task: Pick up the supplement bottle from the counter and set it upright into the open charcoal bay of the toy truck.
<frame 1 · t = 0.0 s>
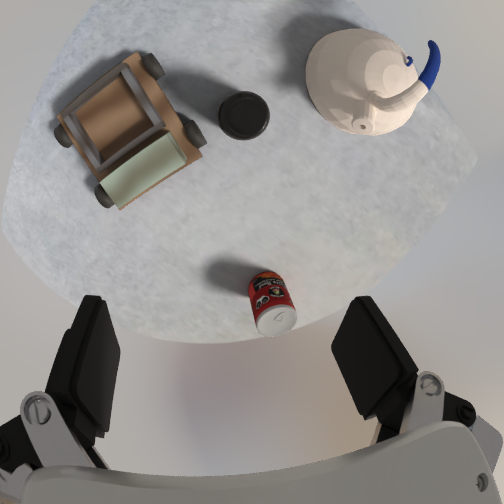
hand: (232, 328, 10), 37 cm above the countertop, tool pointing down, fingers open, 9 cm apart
supplement bottle: (237, 113, 39), on the countertop
kettle: (357, 81, 38), on the countertop
toy truck: (129, 130, 37), on the countertop
canned food: (265, 285, 58), on the countertop
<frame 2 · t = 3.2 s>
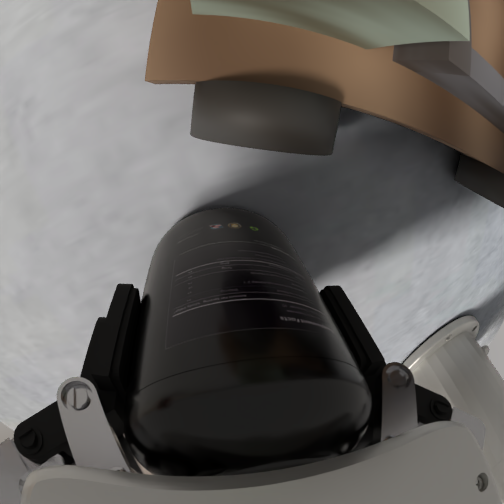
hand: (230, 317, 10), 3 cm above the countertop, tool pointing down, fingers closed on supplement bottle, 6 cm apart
supplement bottle: (223, 266, 13), on the countertop, touching gripper
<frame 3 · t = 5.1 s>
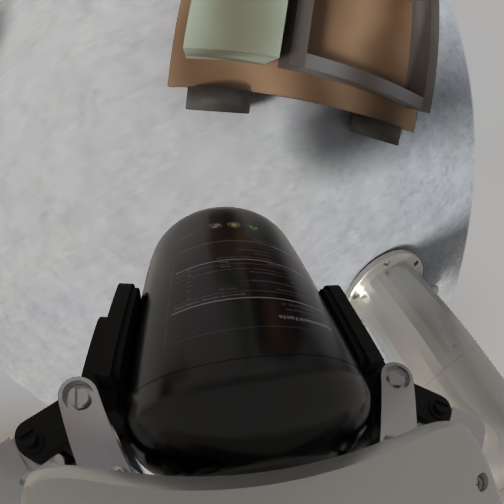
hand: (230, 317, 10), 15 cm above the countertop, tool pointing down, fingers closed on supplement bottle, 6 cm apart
supplement bottle: (223, 265, 13), point 11 cm above the countertop, touching gripper
toy truck: (310, 17, 15), on the countertop
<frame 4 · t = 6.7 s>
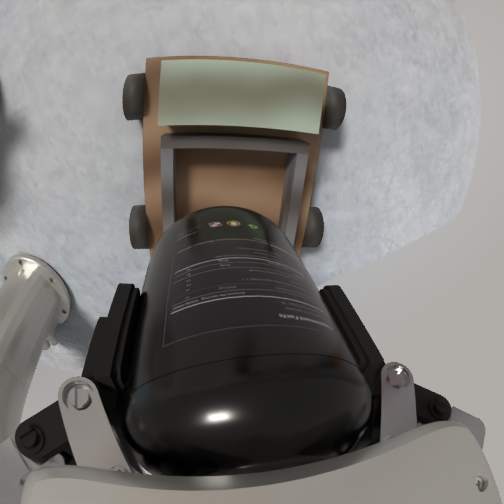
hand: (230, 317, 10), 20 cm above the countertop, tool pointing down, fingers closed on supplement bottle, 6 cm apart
supplement bottle: (222, 265, 13), point 16 cm above the countertop, touching gripper
toy truck: (229, 158, 26), on the countertop
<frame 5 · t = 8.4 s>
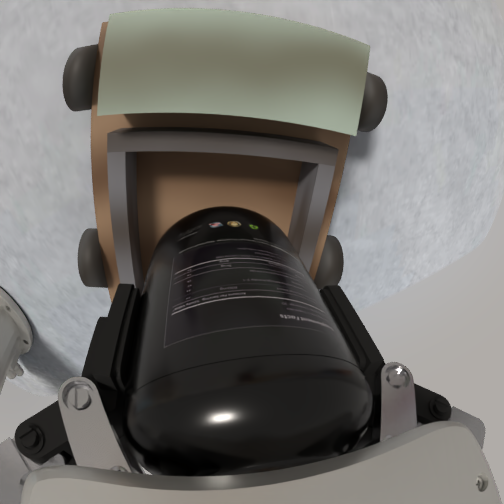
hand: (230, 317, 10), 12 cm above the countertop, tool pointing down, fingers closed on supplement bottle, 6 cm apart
supplement bottle: (223, 265, 13), point 8 cm above the countertop, touching gripper
toy truck: (216, 165, 19), on the countertop
when the fingers open (8 cm above the countertop, at t = 10.0 s): supplement bottle drops 2 cm, resting on toy truck.
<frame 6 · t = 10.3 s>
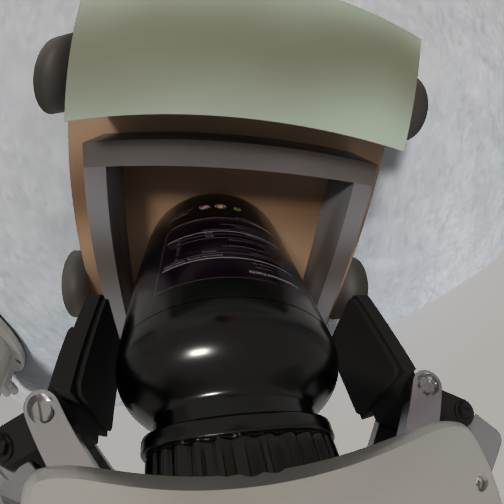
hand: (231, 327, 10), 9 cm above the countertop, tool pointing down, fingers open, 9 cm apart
supplement bottle: (214, 248, 14), point 3 cm above the countertop, touching toy truck
toy truck: (222, 177, 16), on the countertop
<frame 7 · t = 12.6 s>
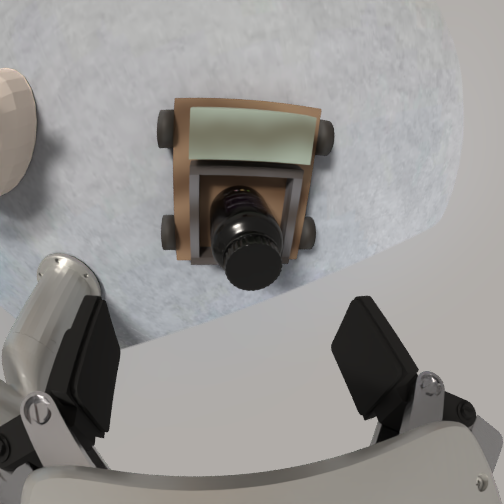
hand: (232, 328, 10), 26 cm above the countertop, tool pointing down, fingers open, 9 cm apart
supplement bottle: (238, 209, 32), point 3 cm above the countertop, touching toy truck
toy truck: (240, 178, 33), on the countertop
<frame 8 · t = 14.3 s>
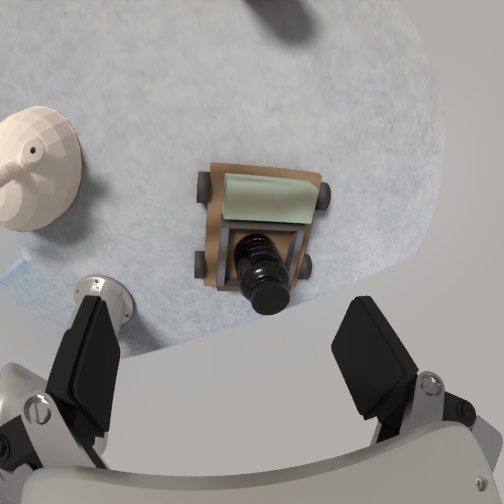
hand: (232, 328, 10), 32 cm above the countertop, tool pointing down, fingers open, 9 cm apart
supplement bottle: (254, 250, 43), point 3 cm above the countertop, touching toy truck
kettle: (35, 165, 32), on the countertop
toy truck: (255, 224, 44), on the countertop
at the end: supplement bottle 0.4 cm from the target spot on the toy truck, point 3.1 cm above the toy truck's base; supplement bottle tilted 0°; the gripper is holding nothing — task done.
